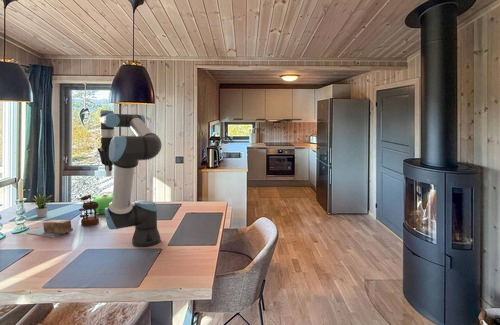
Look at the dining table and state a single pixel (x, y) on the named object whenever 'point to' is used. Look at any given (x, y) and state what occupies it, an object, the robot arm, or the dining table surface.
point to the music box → (92, 219)
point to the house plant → (41, 206)
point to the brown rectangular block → (57, 226)
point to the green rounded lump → (103, 202)
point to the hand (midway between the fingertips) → (108, 176)
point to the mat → (44, 233)
